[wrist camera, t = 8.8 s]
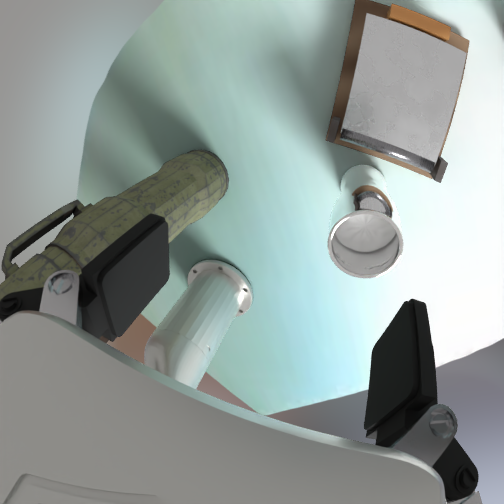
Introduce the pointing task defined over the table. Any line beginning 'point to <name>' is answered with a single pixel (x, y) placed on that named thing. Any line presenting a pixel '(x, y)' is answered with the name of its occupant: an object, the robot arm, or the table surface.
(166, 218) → the thermos
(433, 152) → the grey marble tile
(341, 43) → the table surface
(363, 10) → the plate
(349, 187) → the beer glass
